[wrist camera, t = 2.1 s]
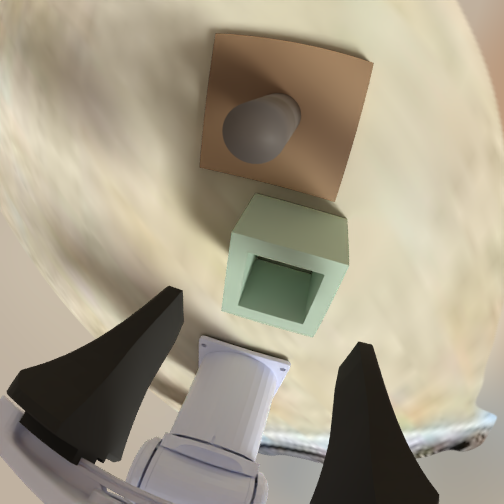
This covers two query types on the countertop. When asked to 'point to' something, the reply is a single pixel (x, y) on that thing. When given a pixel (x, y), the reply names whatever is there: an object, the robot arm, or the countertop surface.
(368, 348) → the robot arm
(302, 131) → the post base
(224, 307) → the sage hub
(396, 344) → the countertop surface
